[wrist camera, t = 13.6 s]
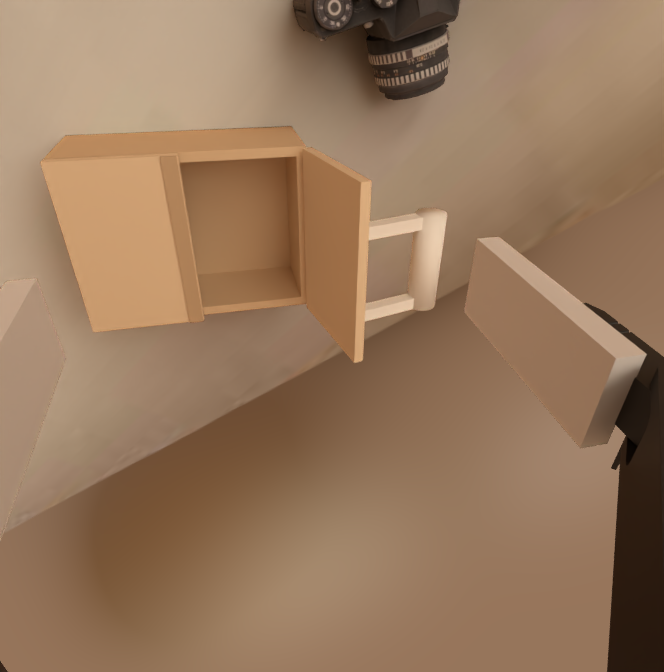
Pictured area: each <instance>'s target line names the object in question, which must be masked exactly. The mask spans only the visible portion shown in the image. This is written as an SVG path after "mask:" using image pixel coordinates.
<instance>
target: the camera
mask: <svg viewBox="0 0 664 672" xmlns="http://www.w3.org/2000/svg"><path fill="white" fill-rule="evenodd" d="M459 2H460V0H293V3H294V4H293V7H294V10H295V14H296V17H297V21H298V24H299V26H300V27H301V28H302V29H303V31H305V30H306V31H308V32H310V33H312V34H314V35H315V36H316V37H318V38H320V41H324V40H326V37H329V36H331V35H334V34H337V33H340V32H343V31H345V30H348V29H351V28H354V27H357V26H359V25H363V27H364V28H365V30H366V31H367V33H368V35H369V36H368V37H367V38H366V40H367V46H368V51H369V52H368V58H369V62H370V63H371V64H372V67H373V70H374V73H375V75H374V76H375V82H376V84H377V85H379V90H380V92H382V93H385V97H386V98H387V99H392V100H400V99H408V98H412V97H416V96H419V95H422V94H425V93H428V92H431V91H433V90H435V89H437V88H438V87H440V86H441V85H442V84H443V83H444V81H445V76H446V75H447V73H448V65H449V62H450V61H449V55H448V50H447V47H448V40H449V32H448V30H447V29H446V28H447V27H448V25H447V24H446V23H449V22H452V21H454V20H455V19H456V17H457V16H458V11H459Z"/></svg>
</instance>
